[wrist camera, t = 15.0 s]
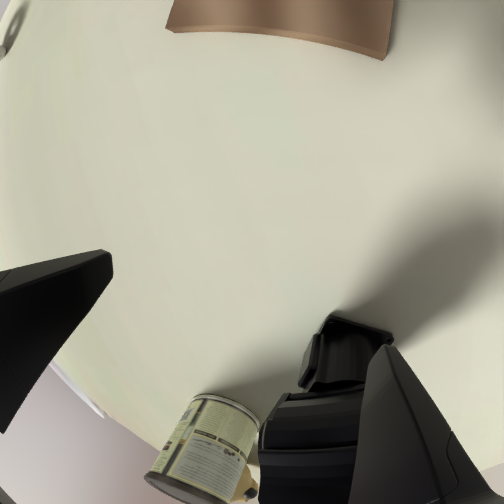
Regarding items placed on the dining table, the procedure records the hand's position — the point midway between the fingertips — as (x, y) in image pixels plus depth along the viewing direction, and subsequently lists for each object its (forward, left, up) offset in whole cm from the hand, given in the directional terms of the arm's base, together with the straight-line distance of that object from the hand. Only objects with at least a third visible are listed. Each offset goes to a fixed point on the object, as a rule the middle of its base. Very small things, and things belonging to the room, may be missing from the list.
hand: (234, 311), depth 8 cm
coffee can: (+1, +30, -13) cm, 33 cm away
